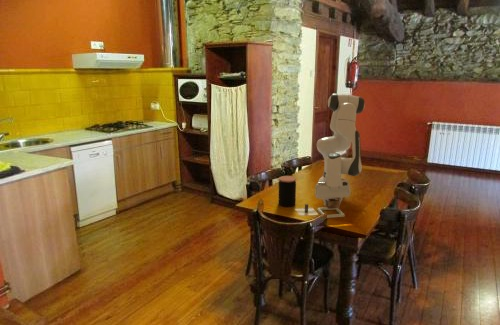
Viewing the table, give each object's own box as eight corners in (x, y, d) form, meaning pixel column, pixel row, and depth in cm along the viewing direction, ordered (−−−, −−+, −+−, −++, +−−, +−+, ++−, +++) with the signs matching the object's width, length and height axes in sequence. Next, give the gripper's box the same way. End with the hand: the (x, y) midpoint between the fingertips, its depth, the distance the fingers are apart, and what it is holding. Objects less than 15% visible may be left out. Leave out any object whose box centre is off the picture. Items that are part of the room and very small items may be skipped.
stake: (294, 210, 213) (294, 201, 212) (312, 209, 215) (312, 200, 214) (300, 217, 203) (300, 208, 202) (318, 216, 205) (318, 207, 203)
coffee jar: (298, 207, 218) (299, 179, 213) (282, 209, 215) (283, 181, 210) (290, 201, 228) (291, 175, 223) (275, 203, 224) (276, 176, 220)
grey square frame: (316, 211, 211) (317, 207, 211) (335, 210, 213) (335, 206, 213) (324, 219, 200) (324, 215, 199) (344, 218, 202) (344, 214, 201)
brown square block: (328, 208, 201) (328, 202, 200) (325, 204, 207) (325, 198, 206) (339, 208, 202) (339, 201, 201) (335, 204, 208) (335, 197, 207)
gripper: (317, 184, 197) (316, 207, 200) (352, 182, 199) (350, 205, 202) (313, 181, 203) (313, 203, 206) (347, 179, 205) (346, 201, 208)
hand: (332, 204), depth 204 cm, fingers closed on brown square block, 6 cm apart
